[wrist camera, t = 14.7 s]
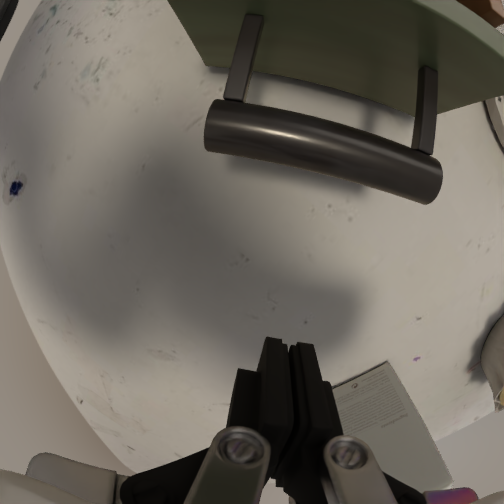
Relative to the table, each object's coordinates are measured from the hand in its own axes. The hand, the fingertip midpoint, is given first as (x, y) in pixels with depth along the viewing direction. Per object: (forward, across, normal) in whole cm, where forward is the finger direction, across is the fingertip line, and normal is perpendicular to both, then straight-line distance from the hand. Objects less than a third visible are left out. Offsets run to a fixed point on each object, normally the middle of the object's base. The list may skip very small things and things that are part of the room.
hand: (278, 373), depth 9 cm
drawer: (+5, 0, -16) cm, 17 cm away
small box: (+6, -9, +8) cm, 13 cm away
